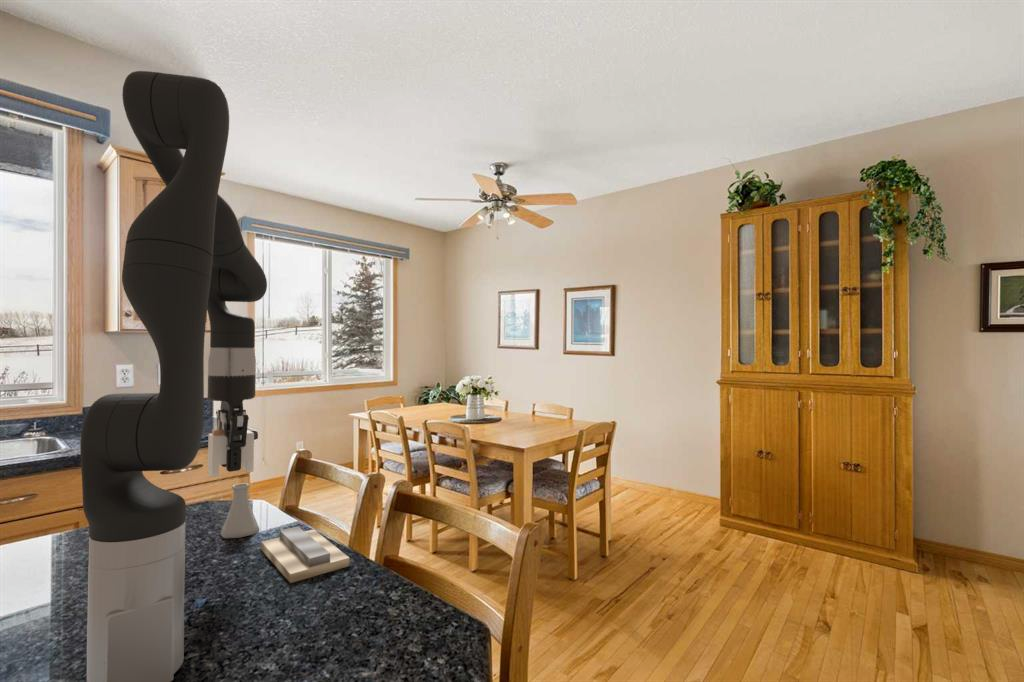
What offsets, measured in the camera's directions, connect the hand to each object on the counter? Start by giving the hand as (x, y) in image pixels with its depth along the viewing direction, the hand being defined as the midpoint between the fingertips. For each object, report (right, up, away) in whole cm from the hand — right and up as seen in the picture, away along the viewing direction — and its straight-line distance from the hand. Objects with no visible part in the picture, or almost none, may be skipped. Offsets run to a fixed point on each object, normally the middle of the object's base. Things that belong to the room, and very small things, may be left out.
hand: (230, 467), depth 90 cm
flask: (-6, -18, +14) cm, 24 cm away
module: (0, -1, 0) cm, 1 cm away
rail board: (+12, -17, +2) cm, 21 cm away
